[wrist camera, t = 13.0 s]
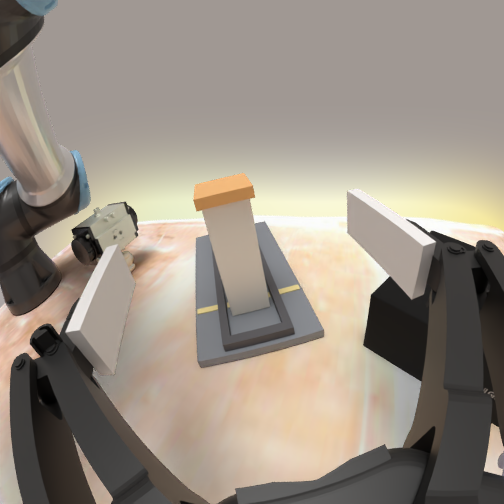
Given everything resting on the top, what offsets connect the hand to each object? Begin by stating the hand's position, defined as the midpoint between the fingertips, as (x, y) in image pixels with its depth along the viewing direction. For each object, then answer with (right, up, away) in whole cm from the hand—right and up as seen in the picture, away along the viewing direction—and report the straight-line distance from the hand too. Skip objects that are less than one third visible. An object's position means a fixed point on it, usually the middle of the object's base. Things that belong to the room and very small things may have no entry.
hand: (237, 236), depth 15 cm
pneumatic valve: (-20, -5, +27) cm, 34 cm away
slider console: (-1, -4, +21) cm, 21 cm away
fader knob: (0, -6, +15) cm, 16 cm away
